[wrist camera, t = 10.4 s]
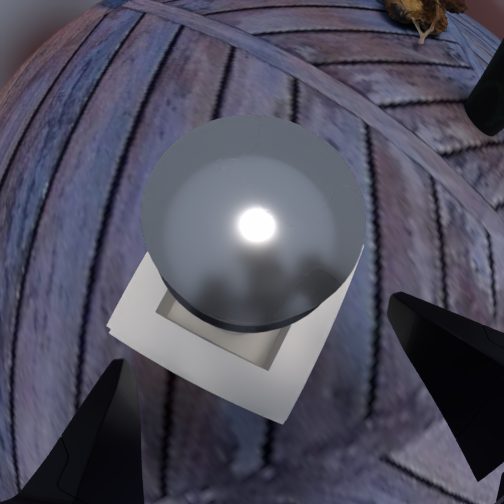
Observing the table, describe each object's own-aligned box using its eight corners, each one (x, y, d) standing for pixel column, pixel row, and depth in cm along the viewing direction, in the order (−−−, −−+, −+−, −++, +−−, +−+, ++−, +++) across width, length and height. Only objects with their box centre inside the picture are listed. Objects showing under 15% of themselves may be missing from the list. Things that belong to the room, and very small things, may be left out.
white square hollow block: (280, 420, 17) (292, 438, 14) (114, 333, 18) (88, 330, 14) (354, 258, 21) (379, 240, 17) (201, 183, 22) (197, 151, 18)
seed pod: (491, 32, 27) (438, -34, 25) (471, 15, 20) (397, -64, 18) (439, 61, 39) (393, -1, 37) (402, 57, 32) (343, -16, 30)
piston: (281, 335, 18) (387, 319, 6) (198, 338, 18) (127, 331, 5) (276, 256, 19) (349, 116, 7) (197, 258, 19) (148, 114, 7)
